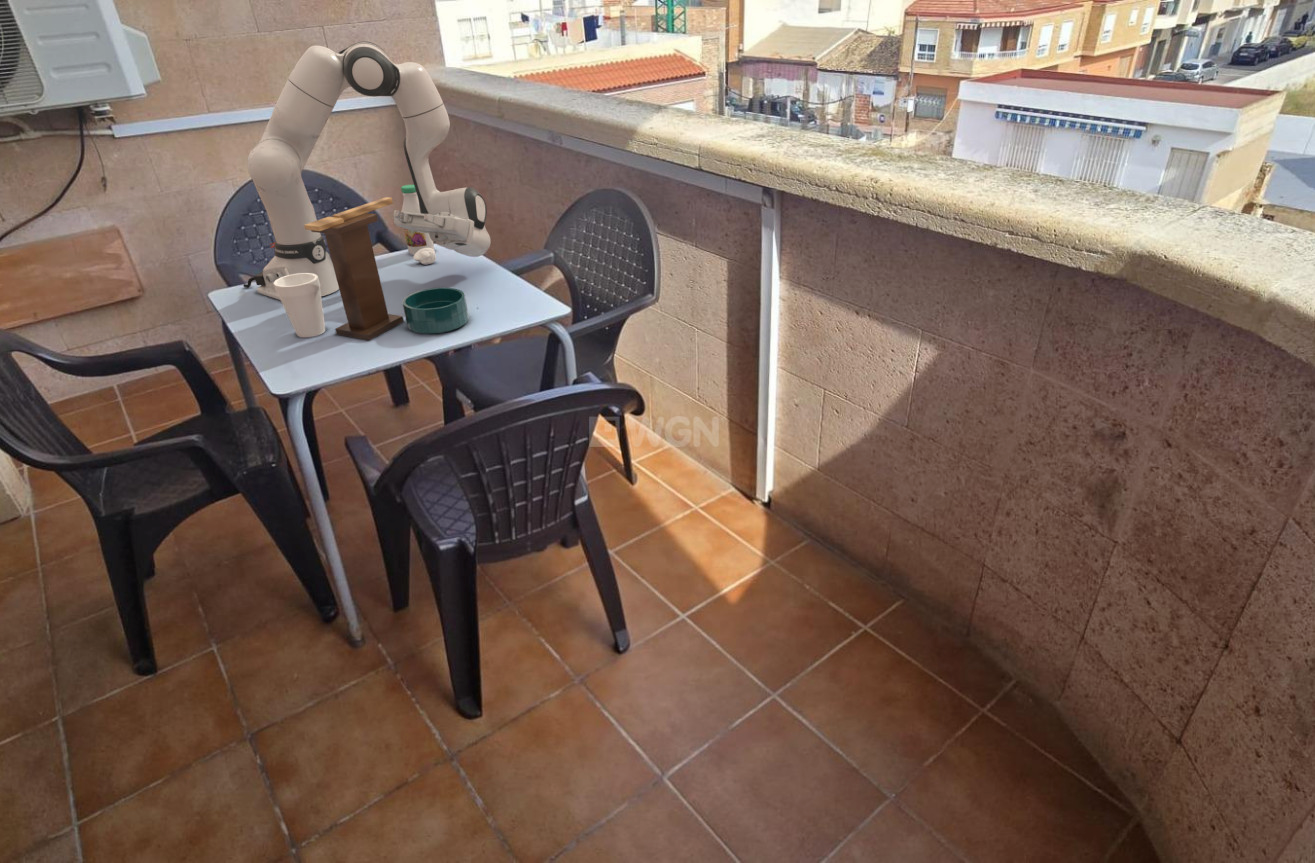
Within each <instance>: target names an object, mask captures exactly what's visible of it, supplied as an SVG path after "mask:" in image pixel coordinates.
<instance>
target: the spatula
mask: <svg viewBox="0 0 1315 863" xmlns="http://www.w3.org/2000/svg"><path fill="white" fill-rule="evenodd" d="M390 205H394V202H393V197H389V196H385V197H383V198H379V199H376V200H373V201H370V202H367V203H364V204H362V205H359V206H356V207H353V208H349V209H347V210H344V211H340V212H338V213H335V214H332V216H326V217H323V218H320V219H317V221H314V222H311V223H308V224H305V225H304V226H305V229H306V230H314V231H322V230H325V229H328V228H330V227H333V226H336V225H339V224H342V223H344V221H345V220H348V219H350V218H353V217H356V216H359V215H362V214H365V213H371V212H373V211H376V210H380V209H381V208H384V207H387V206H390Z"/></svg>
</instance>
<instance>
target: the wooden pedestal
mask: <svg viewBox="0 0 1315 863" xmlns="http://www.w3.org/2000/svg"><path fill="white" fill-rule="evenodd" d="M378 221H379V218H378V215H377V214H376V213H370V212H368V213H365V214H362V215H359V216H356V217H353V218H350V219H348V220H345V221H344V223H342V224H339V225H336V226H333V227H330V228H328V229H325V230H322V231H314V230H311V232H317V233H320V234H324V237H325V242H326V246H327V248H328V251H329V256H330V259H331V261H332V264H333V267H334V271H335V275H336V279H337V282H338V286H339V289H338V290H339V294H340V297H341V301H342V304H343V305H342V306H343V308H344V312H345V313H344V314H345V316H346V319H347V322H346V323H343V324H341V325H340V326H338V327H335V328H334V330H335V334H336V335H338V336H341V337H342V336H343V337H346V338H347V337H348V338H354V339H358V340H359V339H360V340H365V341H371V340H373V339H375V338H376V337H378V336H380V335H383V334H384V333H386V332H388V331H390V330H392V329H393V328H394V327H397V326H398V325H401V324H402V323H405V321H404V317H403V315H398V314H392V313H388V307H387V304H386V300H385V296H384V291H383V286H382V282H381V277H380V273H379V270H378V269H379V268H378V265H377V261H376V257H375V251H374V248H373V244H372V241H371V240H372V239H371V236H370V230H369V227H368V225H371V224H373V223H375V222H378Z"/></svg>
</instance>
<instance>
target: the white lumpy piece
mask: <svg viewBox="0 0 1315 863" xmlns="http://www.w3.org/2000/svg"><path fill="white" fill-rule="evenodd" d="M412 258H413V260H414V261H416V262H420V264H422V265H424V266H425V265H431V264H434V263H435V261H436V259H437V256H436V250H435V249H434V250H433V249H432V248H423V249H420V250H418V251H417V252H416V253H415V255H413V256H412Z"/></svg>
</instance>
